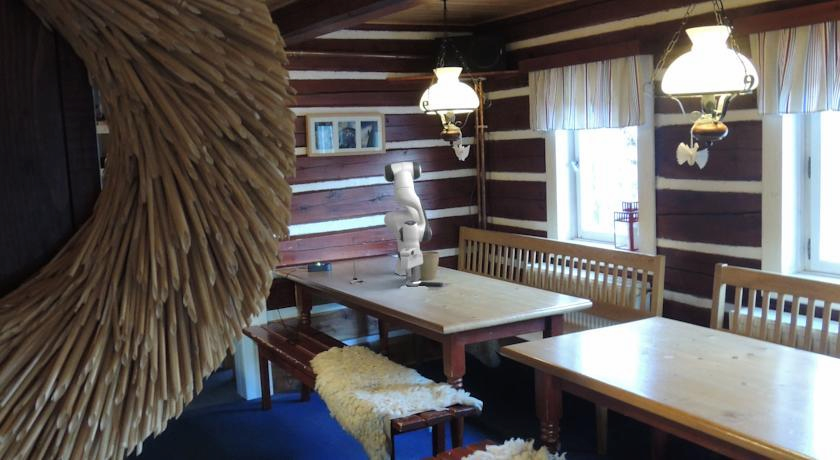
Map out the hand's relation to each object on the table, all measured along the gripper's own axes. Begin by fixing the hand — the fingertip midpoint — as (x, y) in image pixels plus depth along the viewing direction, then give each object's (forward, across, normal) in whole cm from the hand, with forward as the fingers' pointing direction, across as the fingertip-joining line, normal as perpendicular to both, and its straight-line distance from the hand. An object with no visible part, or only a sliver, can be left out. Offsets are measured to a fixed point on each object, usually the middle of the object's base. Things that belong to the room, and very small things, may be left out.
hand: (413, 274), depth 439 cm
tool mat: (+7, 0, +6) cm, 9 cm away
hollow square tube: (+2, 0, 0) cm, 2 cm away
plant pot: (+7, -20, -1) cm, 21 cm away
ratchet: (+6, 0, +6) cm, 9 cm away
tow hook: (+7, -4, -39) cm, 40 cm away
